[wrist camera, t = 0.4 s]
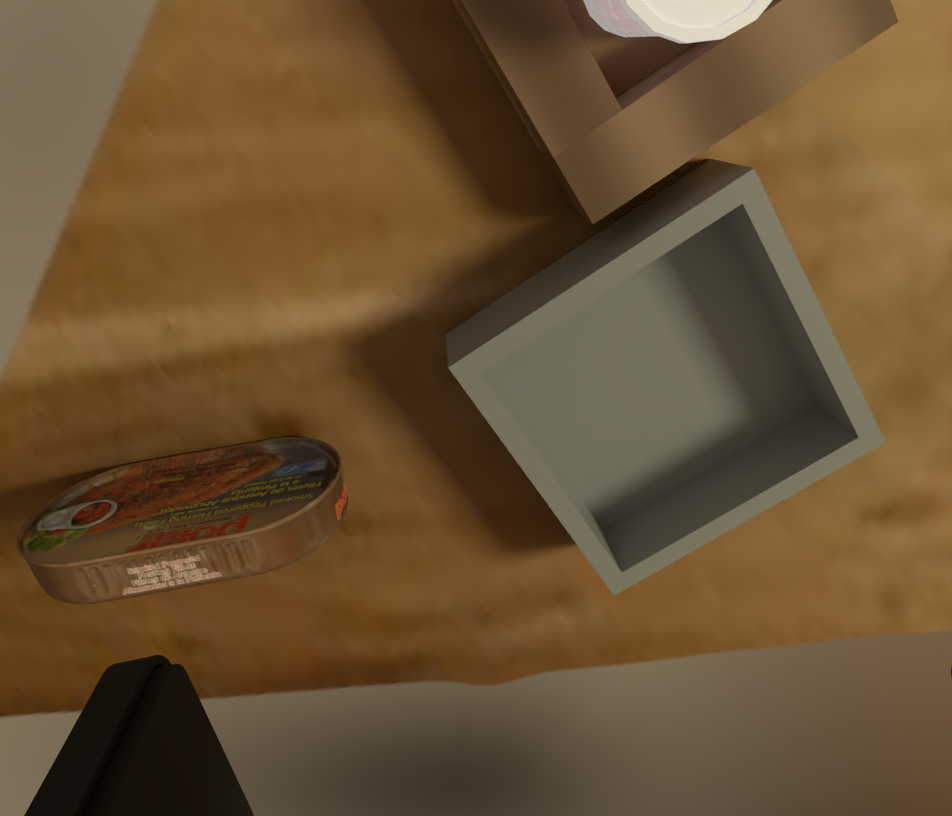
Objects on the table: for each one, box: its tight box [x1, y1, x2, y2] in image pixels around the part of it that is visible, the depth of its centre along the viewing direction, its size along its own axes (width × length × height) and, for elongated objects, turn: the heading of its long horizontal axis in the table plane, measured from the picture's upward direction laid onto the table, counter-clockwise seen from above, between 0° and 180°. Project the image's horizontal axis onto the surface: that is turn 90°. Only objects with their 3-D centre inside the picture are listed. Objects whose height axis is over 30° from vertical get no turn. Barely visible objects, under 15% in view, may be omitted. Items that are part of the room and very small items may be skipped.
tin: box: [17, 437, 348, 604], centre depth 36 cm, size 15×3×8 cm, turn 99°
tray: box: [445, 159, 885, 595], centre depth 36 cm, size 15×15×5 cm
